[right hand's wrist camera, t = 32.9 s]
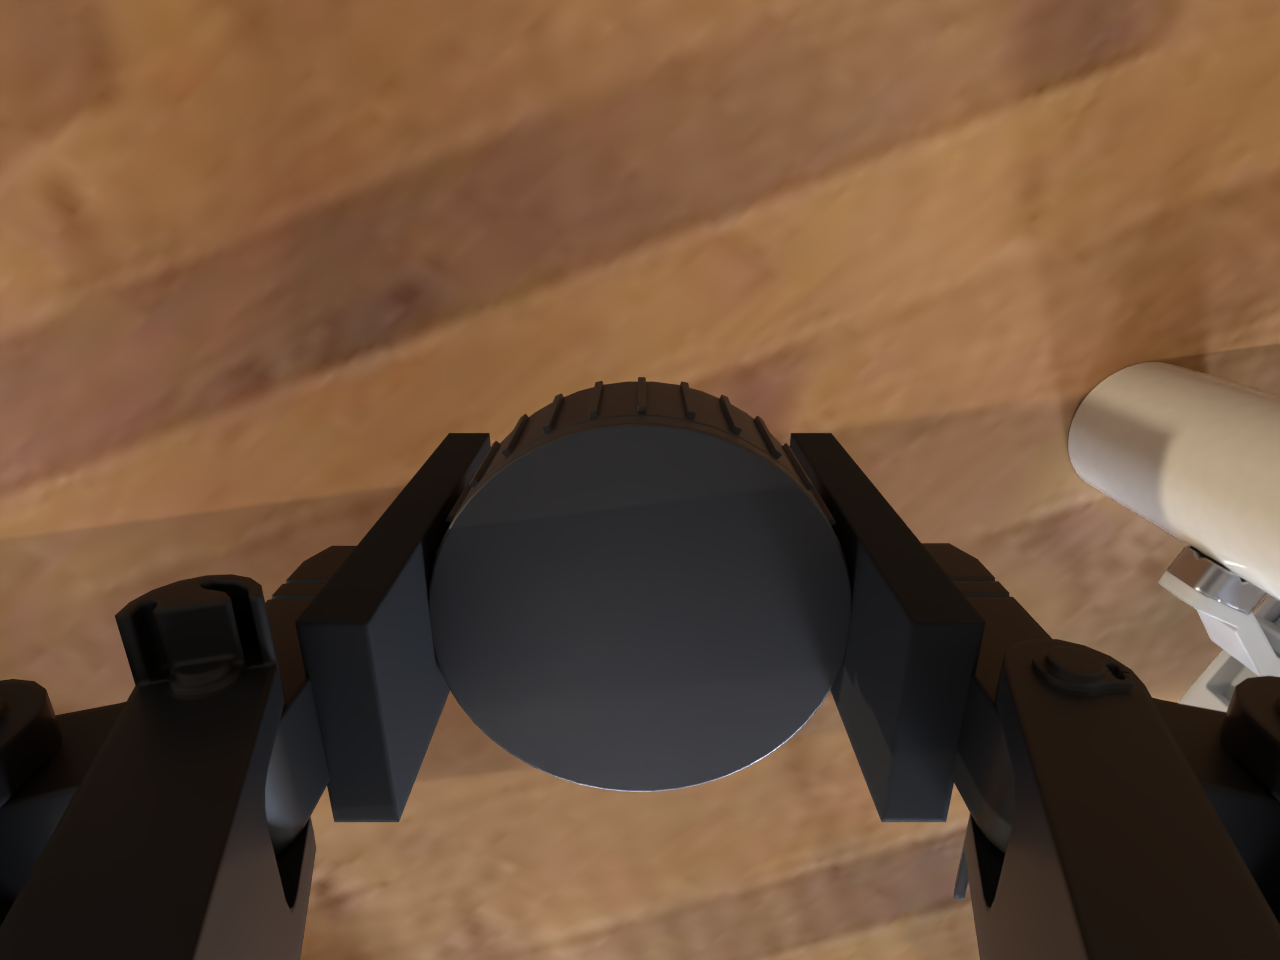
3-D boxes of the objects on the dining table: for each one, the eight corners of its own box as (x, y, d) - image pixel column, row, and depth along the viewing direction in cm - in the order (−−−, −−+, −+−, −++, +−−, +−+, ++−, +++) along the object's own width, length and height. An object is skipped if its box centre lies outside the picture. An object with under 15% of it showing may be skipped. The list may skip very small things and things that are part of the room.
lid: (595, 751, 13) (587, 854, 11) (384, 506, 12) (328, 574, 9) (883, 596, 12) (933, 678, 10) (695, 297, 10) (710, 322, 8)
